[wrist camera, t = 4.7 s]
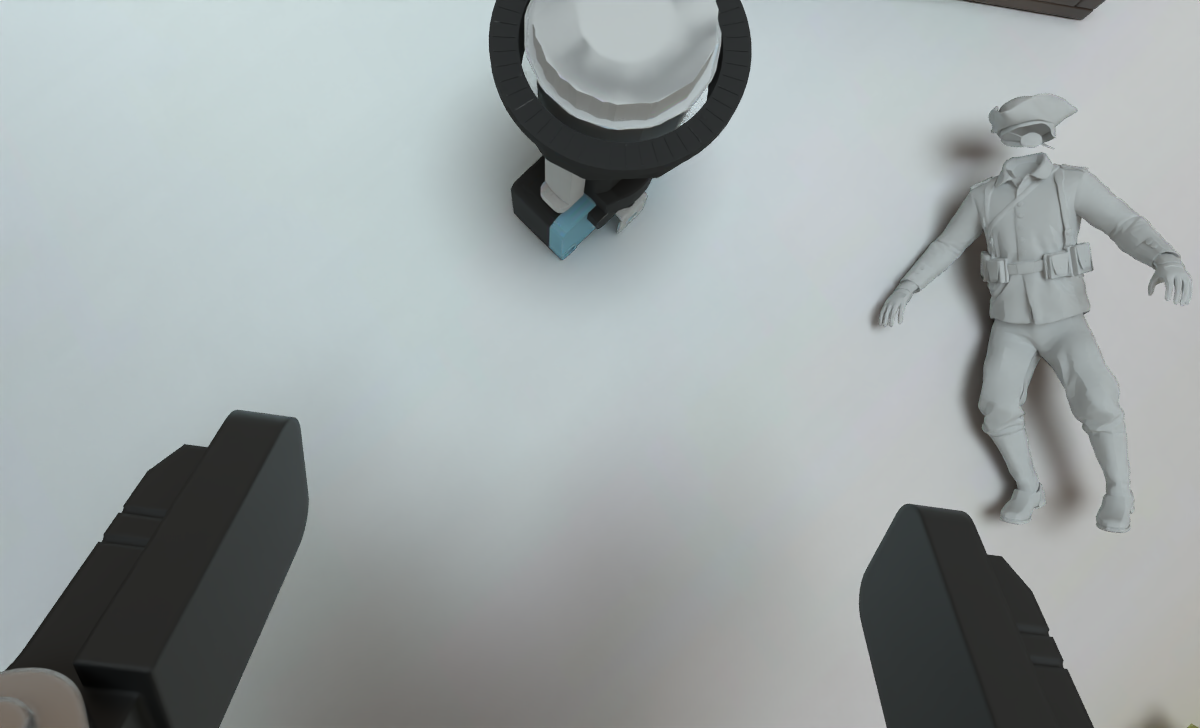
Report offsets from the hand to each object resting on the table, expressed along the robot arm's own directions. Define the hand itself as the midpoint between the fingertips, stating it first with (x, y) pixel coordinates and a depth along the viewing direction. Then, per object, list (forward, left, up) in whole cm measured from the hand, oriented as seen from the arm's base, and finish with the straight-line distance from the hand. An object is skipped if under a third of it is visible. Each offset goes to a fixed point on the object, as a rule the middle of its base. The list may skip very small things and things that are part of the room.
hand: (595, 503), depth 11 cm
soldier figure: (+13, +7, -13) cm, 20 cm away
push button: (0, +10, -13) cm, 17 cm away
